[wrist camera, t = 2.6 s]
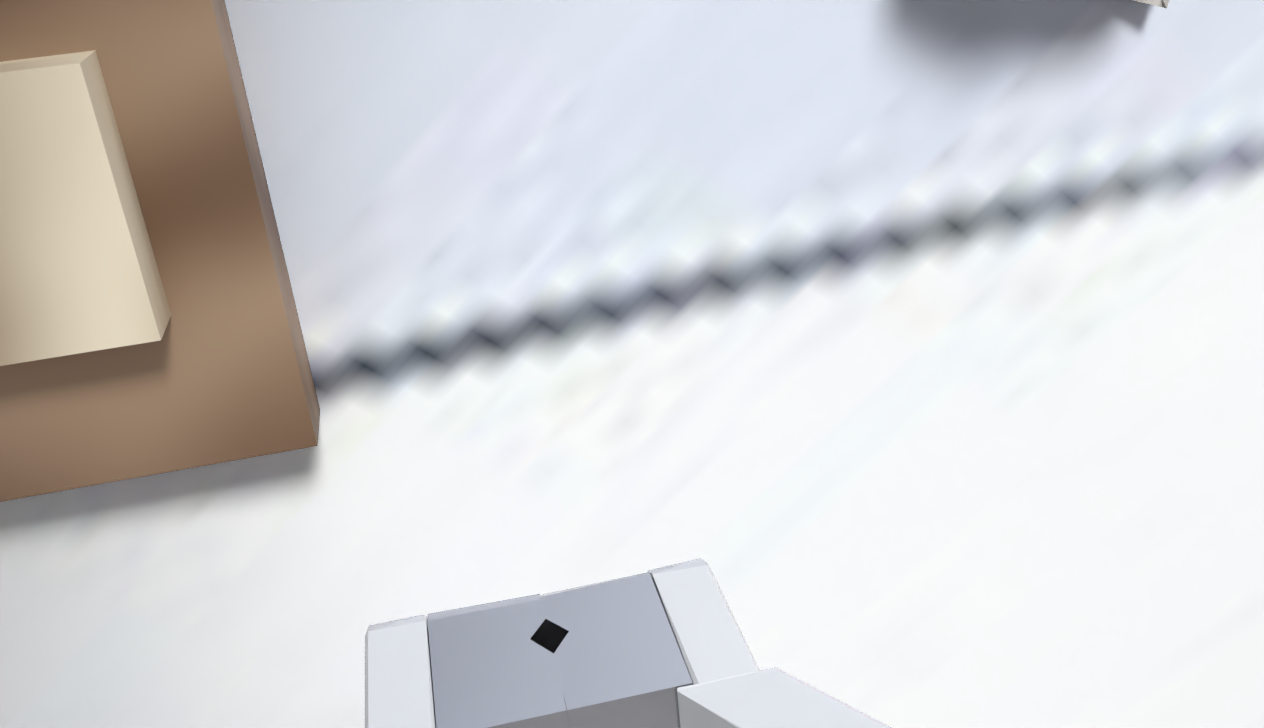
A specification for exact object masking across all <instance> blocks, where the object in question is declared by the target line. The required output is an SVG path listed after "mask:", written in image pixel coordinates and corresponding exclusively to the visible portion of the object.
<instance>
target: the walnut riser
mask: <svg viewBox="0 0 1264 728" xmlns="http://www.w3.org/2000/svg"><path fill="white" fill-rule="evenodd" d="M93 50H96V54H97V57H98V61H99V64H100V68H101V71H102V75H103V78H104V82H105V85H106V89H107V92H108V96H109V99H110V103H111V106H112V110H113V113H114V117H115V120H116V124H117V127H118V131H119V134H120V138H121V141H122V145H123V148H124V152H125V155H126V159H127V162H128V166H129V169H130V173H131V176H132V180H133V183H134V187H135V190H136V194H137V197H138V201H139V204H140V208H141V211H142V215H143V218H144V222H145V225H146V229H147V232H148V236H149V239H150V243H151V246H152V250H153V253H154V257H155V260H156V264H157V267H158V271H159V274H160V278H161V281H162V285H163V288H164V292H165V295H166V299H167V302H168V305H169V309H170V312H171V316H170V319H169V322H168V324H167V327H166V329H165V332H164V334H163V337H162V339H161V340H160V341H154V342H148V343H142V344H135V345H129V346H123V347H116V348H110V349H104V350H98V351H91V352H85V353H79V354H73V355H66V356H60V357H54V358H47V359H41V360H35V361H29V362H22V363H16V364H10V365H4V366H0V502H1V501H7V500H12V499H18V498H24V497H29V496H35V495H41V494H46V493H52V492H58V491H63V490H69V489H75V488H80V487H86V486H92V485H97V484H103V483H109V482H114V481H120V480H126V479H131V478H137V477H143V476H148V475H154V474H160V473H165V472H171V471H177V470H182V469H188V468H194V467H199V466H205V465H211V464H216V463H222V462H228V461H233V460H239V459H245V458H250V457H256V456H262V455H267V454H273V453H279V452H285V451H290V450H296V449H302V448H307V447H313V446H317V443H318V429H319V415H320V408H319V404H318V400H317V395H316V391H315V387H314V382H313V378H312V374H311V370H310V365H309V361H308V357H307V352H306V348H305V344H304V340H303V335H302V331H301V327H300V323H299V318H298V314H297V310H296V305H295V301H294V297H293V293H292V288H291V284H290V280H289V275H288V271H287V267H286V263H285V258H284V254H283V250H282V245H281V241H280V237H279V233H278V228H277V224H276V220H275V216H274V211H273V207H272V203H271V198H270V194H269V190H268V186H267V181H266V177H265V173H264V168H263V164H262V160H261V156H260V151H259V147H258V143H257V139H256V134H255V130H254V126H253V121H252V117H251V113H250V109H249V104H248V100H247V96H246V91H245V87H244V83H243V79H242V74H241V70H240V66H239V62H238V57H237V53H236V49H235V44H234V40H233V36H232V32H231V27H230V23H229V19H228V14H227V10H226V6H225V2H224V0H0V62H3V61H11V60H19V59H28V58H36V57H44V56H52V55H61V54H69V53H77V52H85V51H93Z"/></svg>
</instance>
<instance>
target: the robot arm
mask: <svg viewBox="0 0 1264 728" xmlns="http://www.w3.org/2000/svg"><path fill="white" fill-rule="evenodd" d="M365 728H891V727H889V726H887V725H885V724H883V723H881V722H880V721H878V720H876V719H874V718H872V717H870V716H868V715H866V714H864V713H862V712H860V711H858V710H857V709H855V708H853V707H851V706H849V705H847V704H845V703H843V702H841V701H839V700H837V699H835V698H834V697H832V696H830V695H828V694H826V693H824V692H822V691H820V690H818V689H816V688H814V687H812V686H811V685H809V684H807V683H805V682H803V681H801V680H799V679H797V678H795V677H793V676H791V675H789V674H788V673H786V672H784V671H782V670H780V669H778V668H775V667H774V668H770V669H765V670H759V668H758V666H757V664H756V662H755V660H754V658H753V656H752V654H751V652H750V650H749V647H748V645H747V643H746V641H745V639H744V637H743V635H742V633H741V631H740V629H739V627H738V625H737V623H736V621H735V619H734V616H733V614H732V612H731V610H730V608H729V606H728V604H727V602H726V600H725V598H724V596H723V594H722V592H721V590H720V588H719V585H718V583H717V581H716V579H715V577H714V575H713V573H712V571H711V569H710V567H709V565H708V563H707V562H705V561H704V560H702V559H701V558H700V559H696V560H692V561H687V562H683V563H679V564H675V565H670V566H666V567H662V568H657V569H653V570H649V571H648V572H647V573H643V574H638V575H633V576H628V577H624V578H619V579H614V580H609V581H605V582H600V583H595V584H590V585H586V586H581V587H576V588H571V589H567V590H562V591H557V592H552V593H548V594H543V595H540V594H537V595H531V596H526V597H520V598H515V599H509V600H503V601H498V602H492V603H487V604H481V605H475V606H470V607H464V608H459V609H453V610H448V611H442V612H436V613H431V614H428V618H427V617H426V616H424V615H420V616H415V617H410V618H405V619H400V620H395V621H390V622H385V623H380V624H375V625H370V626H369V627H368V630H367V632H366V635H365Z"/></svg>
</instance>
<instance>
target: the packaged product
mask: <svg viewBox="0 0 1264 728" xmlns="http://www.w3.org/2000/svg"><path fill="white" fill-rule="evenodd" d="M1133 1H1137V2H1142V3H1146V4H1151V5H1155V6H1159V7H1164V8H1167V6H1168V2H1169V0H1133Z"/></svg>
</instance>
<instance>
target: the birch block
mask: <svg viewBox="0 0 1264 728" xmlns="http://www.w3.org/2000/svg"><path fill="white" fill-rule="evenodd" d="M170 316H171V312H170V309H169V305H168V302H167V299H166V295H165V292H164V288H163V285H162V281H161V278H160V274H159V271H158V267H157V264H156V260H155V257H154V253H153V250H152V246H151V243H150V239H149V236H148V232H147V229H146V225H145V222H144V218H143V215H142V211H141V208H140V204H139V201H138V197H137V194H136V190H135V187H134V183H133V180H132V176H131V173H130V169H129V166H128V162H127V159H126V155H125V152H124V148H123V145H122V141H121V138H120V134H119V131H118V127H117V124H116V120H115V117H114V113H113V110H112V106H111V103H110V99H109V96H108V92H107V89H106V85H105V82H104V78H103V75H102V71H101V68H100V64H99V61H98V57H97V54H96V50H93V51H85V52H77V53H69V54H61V55H52V56H44V57H36V58H28V59H19V60H11V61H3V62H0V366H4V365H10V364H16V363H22V362H29V361H35V360H41V359H47V358H54V357H60V356H66V355H73V354H79V353H85V352H91V351H98V350H104V349H110V348H116V347H123V346H129V345H135V344H142V343H148V342H154V341H160V340H161V339H162V337H163V334H164V332H165V329H166V327H167V324H168V322H169V319H170Z"/></svg>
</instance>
